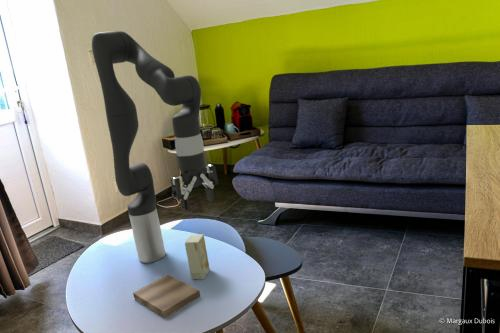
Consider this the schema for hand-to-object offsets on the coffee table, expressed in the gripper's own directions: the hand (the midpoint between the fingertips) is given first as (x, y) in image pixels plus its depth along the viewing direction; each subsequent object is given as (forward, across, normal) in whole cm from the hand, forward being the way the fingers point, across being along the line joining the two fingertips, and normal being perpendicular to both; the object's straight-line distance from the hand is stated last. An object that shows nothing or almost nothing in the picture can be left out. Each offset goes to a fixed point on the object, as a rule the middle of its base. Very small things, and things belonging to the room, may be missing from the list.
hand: (198, 205), depth 122 cm
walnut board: (+24, +13, -4) cm, 28 cm away
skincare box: (+25, -1, -6) cm, 25 cm away
